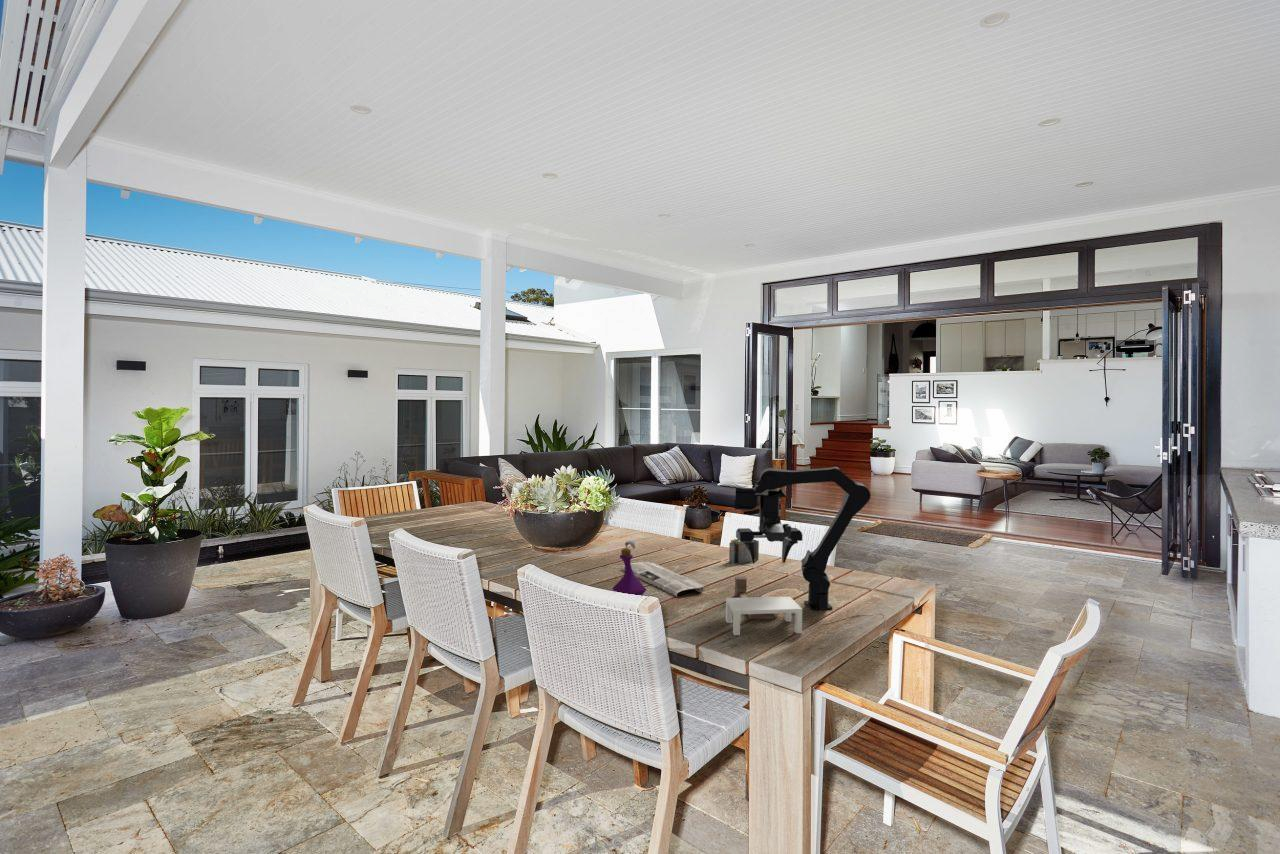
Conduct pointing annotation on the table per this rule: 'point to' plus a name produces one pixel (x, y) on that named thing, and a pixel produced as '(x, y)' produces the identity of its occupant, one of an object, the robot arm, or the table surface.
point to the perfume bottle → (629, 575)
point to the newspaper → (664, 578)
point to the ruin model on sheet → (742, 551)
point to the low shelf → (762, 609)
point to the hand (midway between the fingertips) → (768, 563)
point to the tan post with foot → (741, 593)
